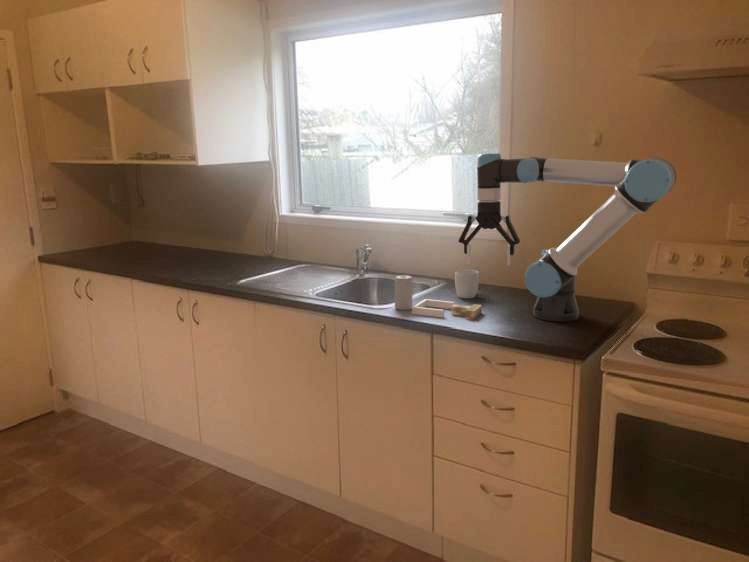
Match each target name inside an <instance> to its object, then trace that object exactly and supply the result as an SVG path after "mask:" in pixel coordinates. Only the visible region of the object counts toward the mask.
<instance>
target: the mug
mask: <svg viewBox="0 0 749 562" xmlns="http://www.w3.org/2000/svg"><path fill="white" fill-rule="evenodd" d="M479 275H480V274H479V271H478V270H476V269H465V268H464V269H457V270H456V271H455V273H454V286H455V292H456V295H457V297H458V298H461V299H473V298H475V297H476V295H477V293H478V290H479V289H478V288H479V283H480V276H479Z"/></svg>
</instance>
